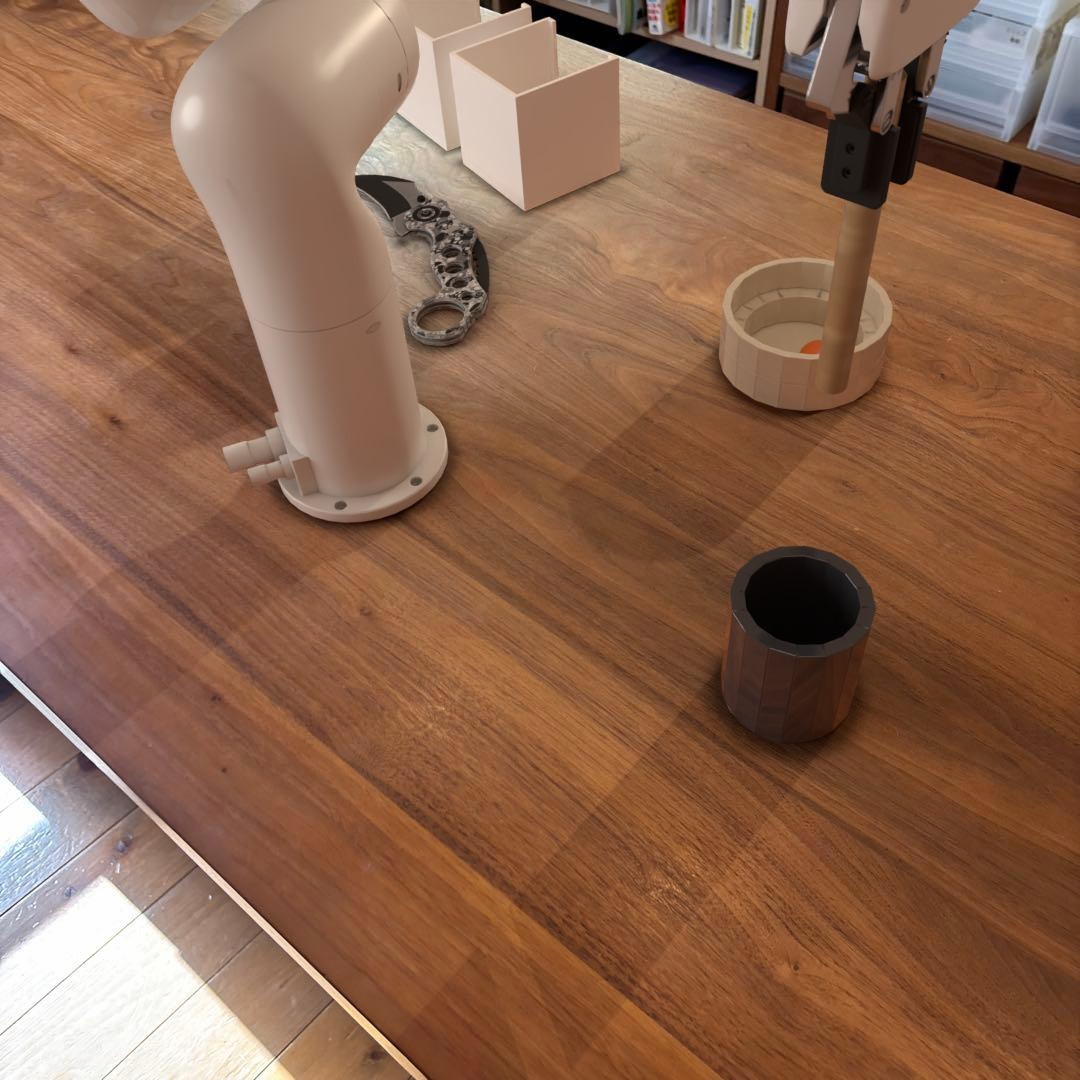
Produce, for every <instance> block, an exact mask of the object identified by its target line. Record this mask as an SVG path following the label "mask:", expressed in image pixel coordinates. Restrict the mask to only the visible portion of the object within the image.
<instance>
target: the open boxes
mask: <svg viewBox="0 0 1080 1080" xmlns="http://www.w3.org/2000/svg"><path fill="white" fill-rule="evenodd" d="M403 1H404V3H405V5H406V7H407V9H408V11H409V13H410V15H411V18H412V20H413V23H414V26H415V30H416V33H417V37H418V43H419V53H420V58H419V69H418V74H417V77H416V80H415V83H414V85H413V88H412V90H411V92H410V94H409V95H408V97H407V98H406V100H405V101H404V103H403V104H402V106H401V107H400V108H399V109H398V111H397V112H396V114H398V115H400V116H401V117H402V118H403V119H405V120H406V121H407V122H409V123H410V124H411V125H412V126H413V127H415V128H416V129H418V131H420V132H422V133H423V134H424V135H425V136H426V137H428V138H429V139H430V140H432V141H433V142H434V143H436V144H437V145H438V146H439V147H441V148H442V149H443V150H444V151H446V152H450V151H452V150H455V149H458V148H460V151H461V159H462V165H464V166H465V167H467V168H468V169H469V170H470V171H471V172H473V173H475V174H476V176H478V177H479V178H481V179H482V180H484V181H485V183H487V184H489V185H490V186H491V187H492V188H494V189H495V190H496V191H498V192H499V193H500V194H502V196H504V197H505V198H507V199H508V200H509V201H510V202H512V203H513V204H514V205H516V206H517V207H518V208H519V209H521V210H522V211H523V212H527V211H529V210H532V209H534V208H536V207H539V206H541V205H544V204H546V203H549V202H550V201H553V200H555V199H558V198H560V197H562V196H565V195H567V194H569V193H571V192H574V191H576V190H578V189H581V188H584V187H585V186H588V185H590V184H593V183H595V182H598V181H599V180H602V179H604V178H607V177H609V176H611V175H614V174H616V173H618V172H620V171H621V120H620V119H621V118H620V117H621V115H620V114H621V113H620V107H621V106H620V57H619V56H617V55H615V54H613V53H612V52H611V53H609V54H607V59H605V60H602V61H600V62H597V63H595V64H592V65H589V66H587V67H584V68H581V69H579V70H576V71H574V72H571V73H569V74H566V75H564V76H560V75H559V57H558V39H557V38H558V37H557V21H556V20H555V19H554V18H552V17H550V16H548V17H544V18H542V19H539V20H536V21H534V22H533V17H532V6H531V5H529V4H528V3H526V2H522V3H521V4H520V7H519V8H517V9H514V10H510V11H508V12H506V13H503V14H500V15H497V16H494V17H492V18H489V19H485V20H483V21H482V15H481V14H482V13H481V5H480V0H403ZM559 76H560V77H559Z"/></svg>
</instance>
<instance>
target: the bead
mask: <svg viewBox="0 0 1080 1080" xmlns="http://www.w3.org/2000/svg"><path fill="white" fill-rule="evenodd" d="M821 342H822V340H814V341H811V342H809V343H807V344H806V345H805V346H804V347H803V348H802V349H801V350H800V352H799V353H803V354H820V348H821Z"/></svg>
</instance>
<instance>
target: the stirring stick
mask: <svg viewBox="0 0 1080 1080" xmlns="http://www.w3.org/2000/svg"><path fill="white" fill-rule="evenodd" d="M906 80H907V73H906V71H905V70H904V69H903V73H902V78H901V84H900V89H899V94H898V100H897V105H896V111H895V116H894V120H893V123H892V125H895V126H898V122H899V116H900V111H901V106H902V101H903V96H904V91H905V85H906ZM863 82H864V83H867V84H870V85H871V86H872V87H873V89H874V91H875V92H876V89H877V83H878V80H872V79H870V77H869V76H867V75H864V80H863ZM882 209H883V205H882V206H881V207H880V208H879V209H876V210H873V209H870V208H867V207H864V206H861V205H858V204H856V203H853V202H850V201H847V200H844V202H843V208H842V214H841V220H840V225H839V226H840V227H839V233H838V239H837V244H836V252H835V256H834V261H835V262H834V268H833V274H832V281H831V287H830V293H829V299H828V305H827V311H826V317H825V323H824V329H823V336H822V342H821V348H820V354H819V360H818V366H817V372H816V378H815V386H816V387H817V389H818V390H819V391H821V392H823V393H826V394H832V395H834V394H839V393H842V392H844V391H845V390H846V388H847V386H848V380H849V375H850V370H851V365H852V360H853V355H854V349H855V344H856V339H857V334H858V329H859V324H860V318H861V313H862V308H863V303H864V298H865V292H866V287H867V282H868V277H869V276H870V270H871V266H872V262H873V261H872V260H873V255H874V250H875V245H876V241H877V234H878V230H879V225H880V220H881V215H882Z"/></svg>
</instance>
